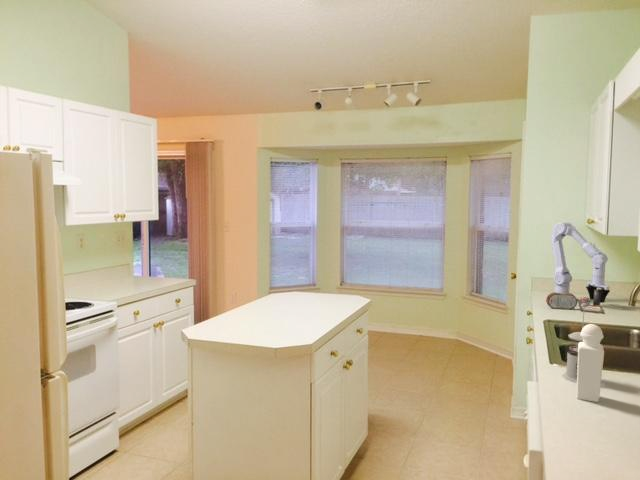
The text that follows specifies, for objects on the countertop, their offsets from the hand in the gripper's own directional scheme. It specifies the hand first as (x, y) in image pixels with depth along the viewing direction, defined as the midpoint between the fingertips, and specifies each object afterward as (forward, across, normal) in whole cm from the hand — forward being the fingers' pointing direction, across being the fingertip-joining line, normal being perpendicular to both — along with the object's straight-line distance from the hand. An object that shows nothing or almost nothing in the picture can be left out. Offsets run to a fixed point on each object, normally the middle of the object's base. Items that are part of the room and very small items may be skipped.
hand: (596, 300), depth 273 cm
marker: (+3, 0, 0) cm, 3 cm away
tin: (+3, +3, -23) cm, 23 cm away
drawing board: (+3, +7, -9) cm, 12 cm away
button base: (+3, -2, -6) cm, 7 cm away
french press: (+3, +96, -80) cm, 125 cm away
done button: (+1, -2, -6) cm, 7 cm away
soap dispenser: (+4, +111, -89) cm, 142 cm away
